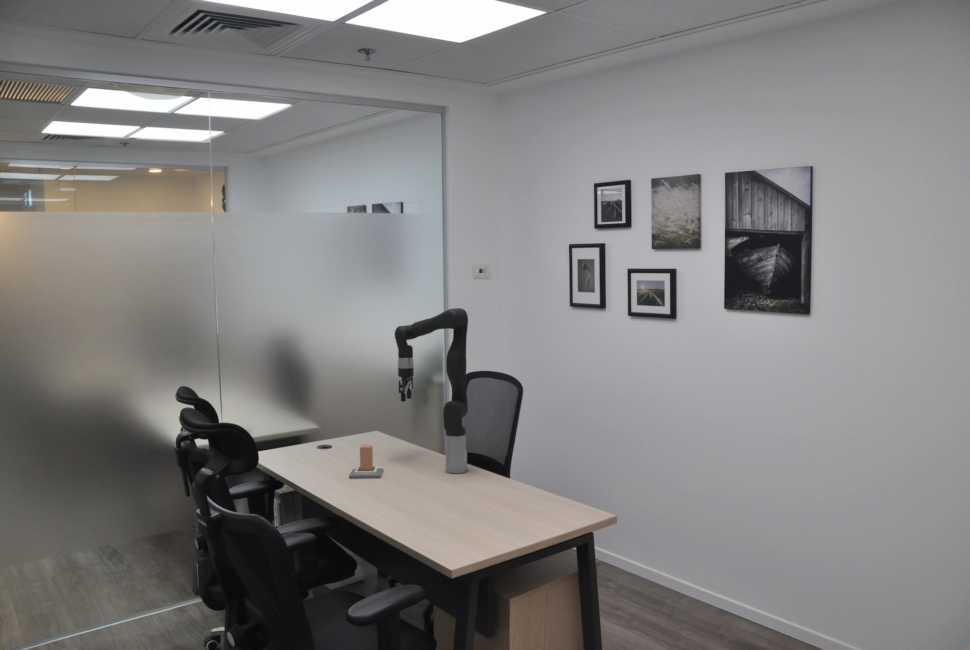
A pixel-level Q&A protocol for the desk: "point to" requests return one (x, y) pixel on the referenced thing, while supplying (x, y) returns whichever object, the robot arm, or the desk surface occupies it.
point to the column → (366, 458)
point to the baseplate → (366, 473)
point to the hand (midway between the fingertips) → (406, 399)
